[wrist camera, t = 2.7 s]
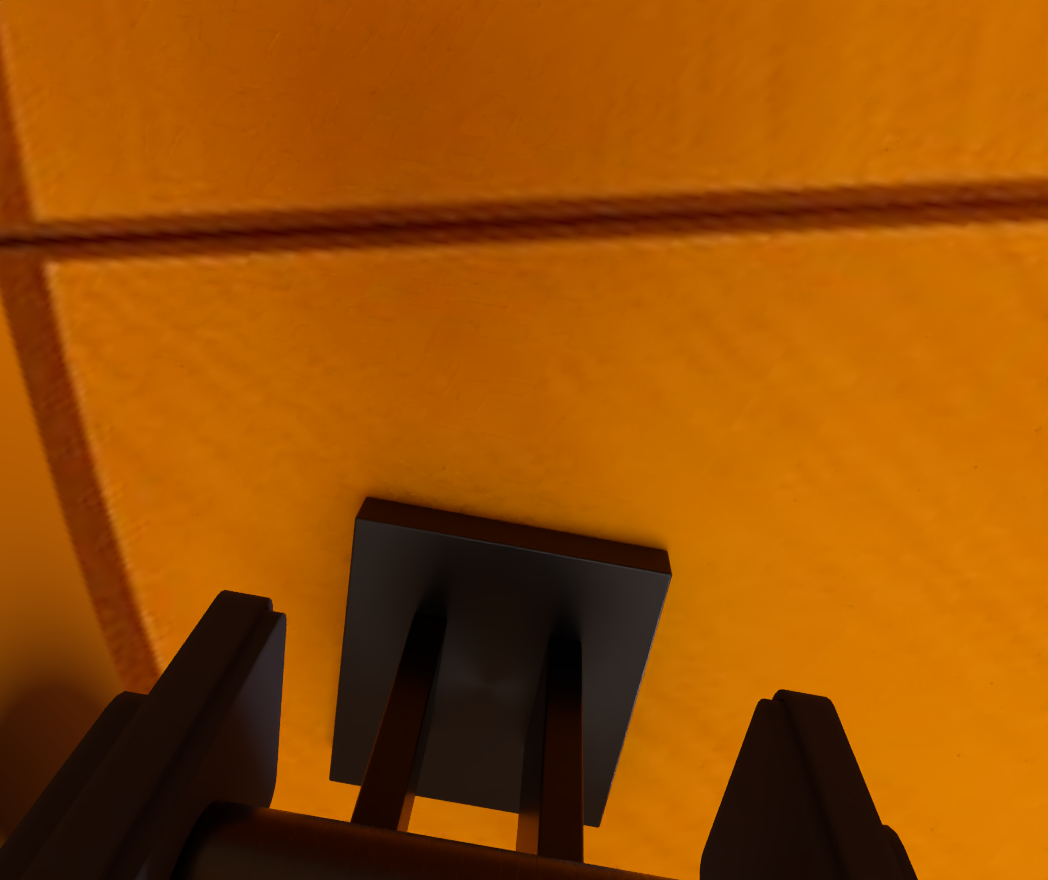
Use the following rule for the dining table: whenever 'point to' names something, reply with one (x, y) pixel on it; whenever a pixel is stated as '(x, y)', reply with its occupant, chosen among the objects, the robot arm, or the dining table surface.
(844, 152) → the dining table surface
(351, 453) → the dining table surface
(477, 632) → the bracket
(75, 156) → the dining table surface
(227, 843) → the lever
